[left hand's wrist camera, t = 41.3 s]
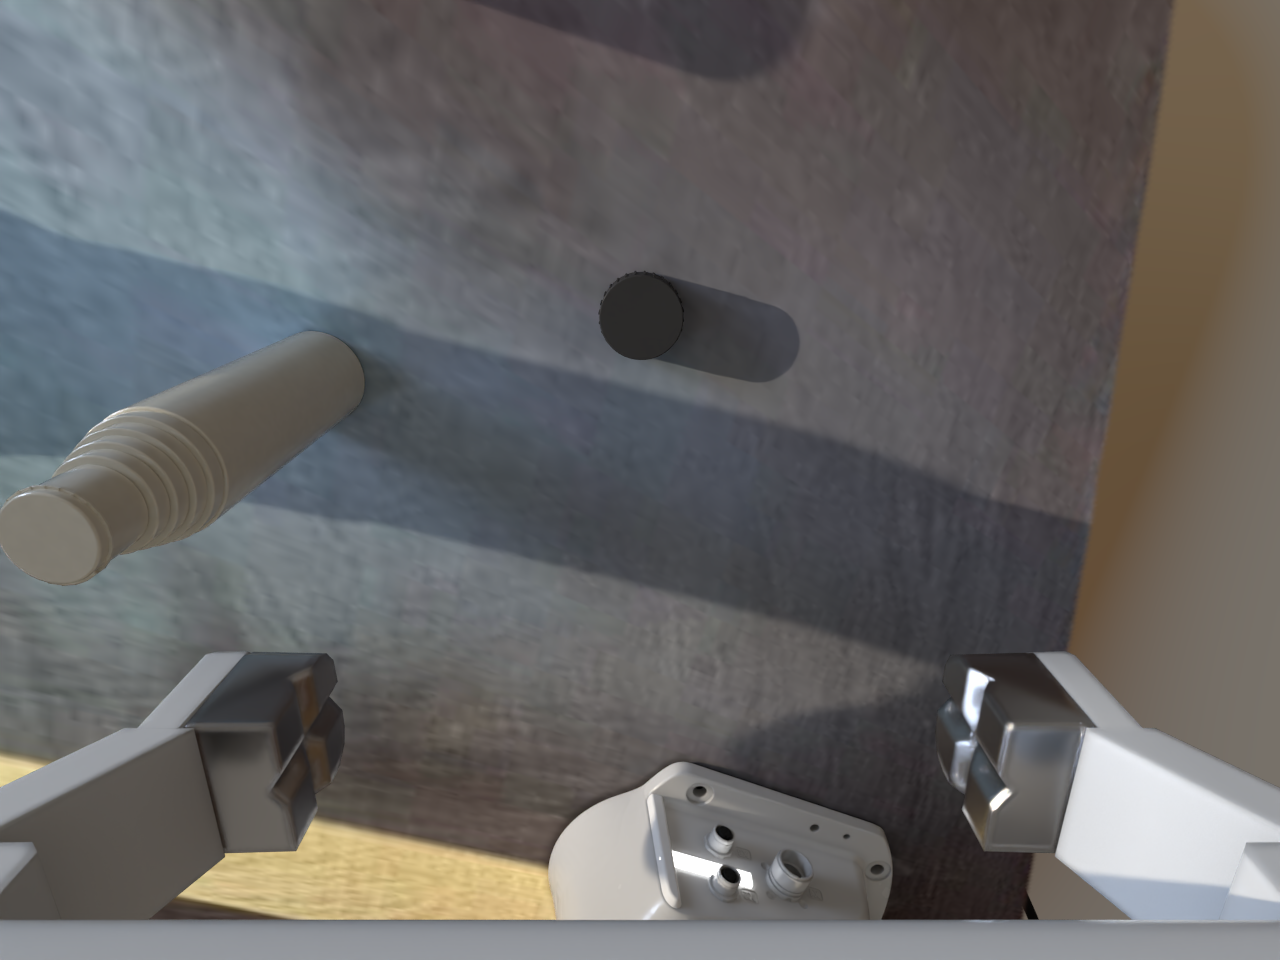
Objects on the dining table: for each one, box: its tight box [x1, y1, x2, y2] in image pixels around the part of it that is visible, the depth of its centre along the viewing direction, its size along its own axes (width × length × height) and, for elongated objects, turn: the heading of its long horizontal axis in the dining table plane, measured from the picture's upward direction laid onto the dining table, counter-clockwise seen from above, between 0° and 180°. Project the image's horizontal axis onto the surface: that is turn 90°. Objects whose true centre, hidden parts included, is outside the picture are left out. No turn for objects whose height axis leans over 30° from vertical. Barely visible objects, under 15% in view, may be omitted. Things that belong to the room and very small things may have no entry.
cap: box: [599, 271, 684, 360], centre depth 38 cm, size 4×4×2 cm
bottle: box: [0, 331, 365, 586], centre depth 31 cm, size 5×5×20 cm
